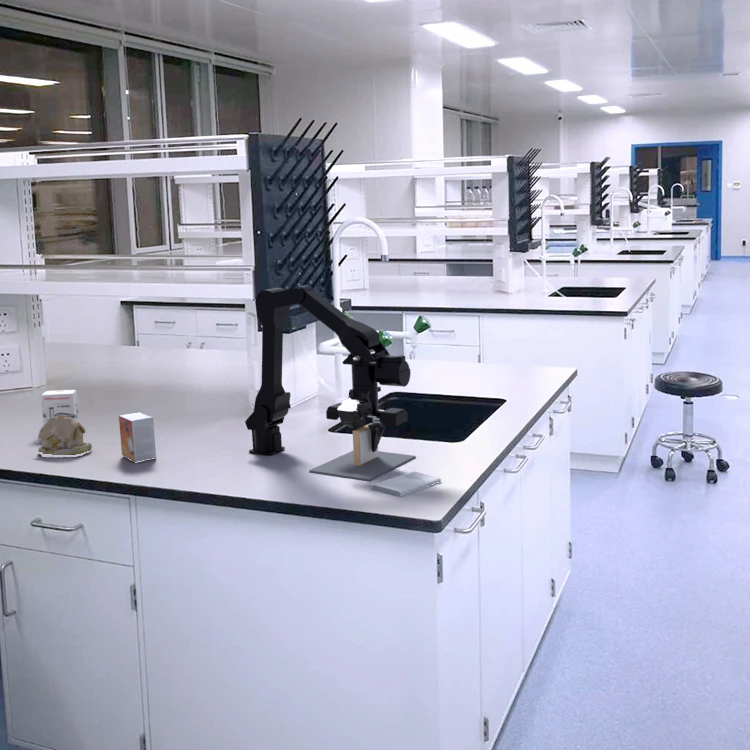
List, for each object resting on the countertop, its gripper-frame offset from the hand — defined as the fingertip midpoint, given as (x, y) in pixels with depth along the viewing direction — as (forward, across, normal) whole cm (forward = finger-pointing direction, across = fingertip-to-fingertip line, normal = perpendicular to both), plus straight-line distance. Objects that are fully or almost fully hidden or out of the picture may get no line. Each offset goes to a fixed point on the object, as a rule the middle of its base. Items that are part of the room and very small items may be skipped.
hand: (367, 450), depth 205 cm
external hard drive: (+4, +17, -11) cm, 20 cm away
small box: (+3, -53, -20) cm, 57 cm away
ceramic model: (+3, -75, -24) cm, 79 cm away
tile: (+2, 0, 0) cm, 2 cm away
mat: (+3, 0, -2) cm, 3 cm away
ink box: (+3, -92, -11) cm, 93 cm away
